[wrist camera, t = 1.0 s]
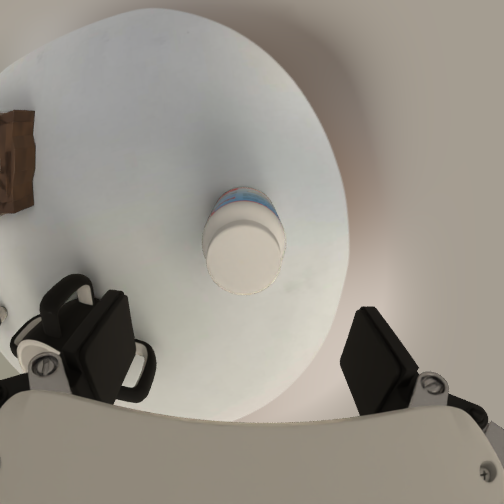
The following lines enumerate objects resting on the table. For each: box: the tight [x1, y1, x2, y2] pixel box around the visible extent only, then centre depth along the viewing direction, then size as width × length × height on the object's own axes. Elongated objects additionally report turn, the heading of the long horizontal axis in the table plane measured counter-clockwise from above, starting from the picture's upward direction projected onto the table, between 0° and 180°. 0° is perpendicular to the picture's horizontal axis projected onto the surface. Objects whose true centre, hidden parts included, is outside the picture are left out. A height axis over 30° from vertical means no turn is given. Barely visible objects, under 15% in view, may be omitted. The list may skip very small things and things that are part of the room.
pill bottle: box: [202, 187, 286, 295], centre depth 22 cm, size 6×6×11 cm
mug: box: [10, 274, 157, 403], centre depth 26 cm, size 16×16×12 cm
